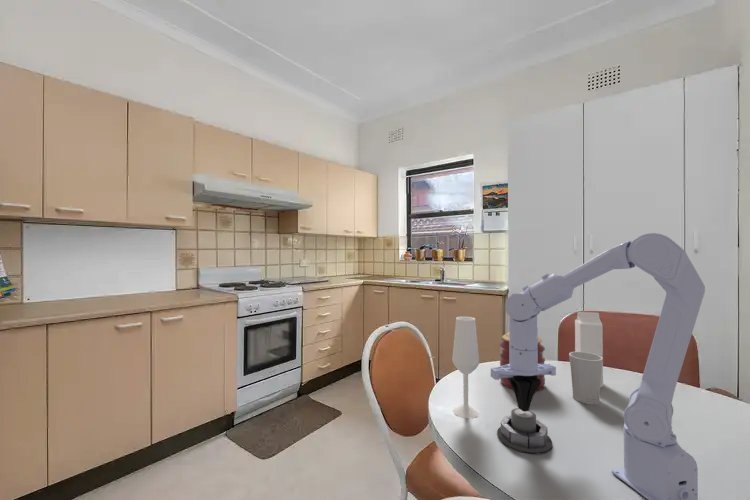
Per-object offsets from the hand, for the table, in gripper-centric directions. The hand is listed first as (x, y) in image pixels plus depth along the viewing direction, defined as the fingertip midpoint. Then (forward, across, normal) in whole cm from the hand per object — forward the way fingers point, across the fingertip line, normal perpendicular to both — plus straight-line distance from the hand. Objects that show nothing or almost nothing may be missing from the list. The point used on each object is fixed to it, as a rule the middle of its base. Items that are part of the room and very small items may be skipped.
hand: (523, 409), depth 74 cm
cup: (+7, -29, -15) cm, 33 cm away
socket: (+6, 0, 0) cm, 6 cm away
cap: (+6, 0, 0) cm, 6 cm away
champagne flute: (+7, +7, -14) cm, 17 cm away
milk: (+7, -39, -25) cm, 47 cm away
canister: (+7, -18, -28) cm, 34 cm away
